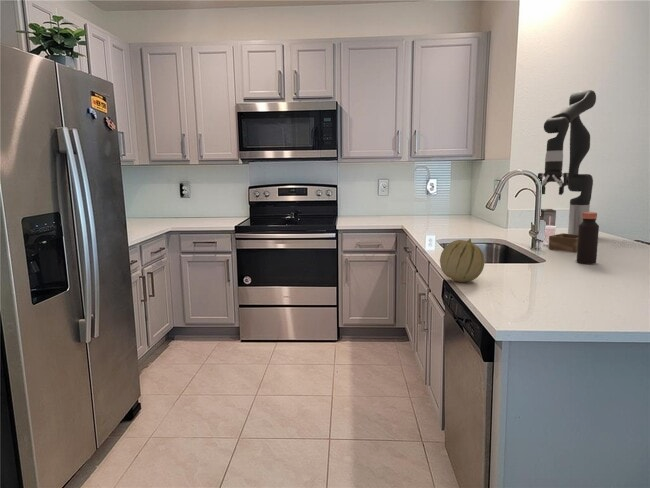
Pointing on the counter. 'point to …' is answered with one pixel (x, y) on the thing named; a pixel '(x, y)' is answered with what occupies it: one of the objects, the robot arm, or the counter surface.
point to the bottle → (588, 239)
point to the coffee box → (546, 214)
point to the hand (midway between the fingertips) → (551, 194)
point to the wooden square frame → (564, 242)
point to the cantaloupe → (462, 261)
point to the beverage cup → (549, 232)
